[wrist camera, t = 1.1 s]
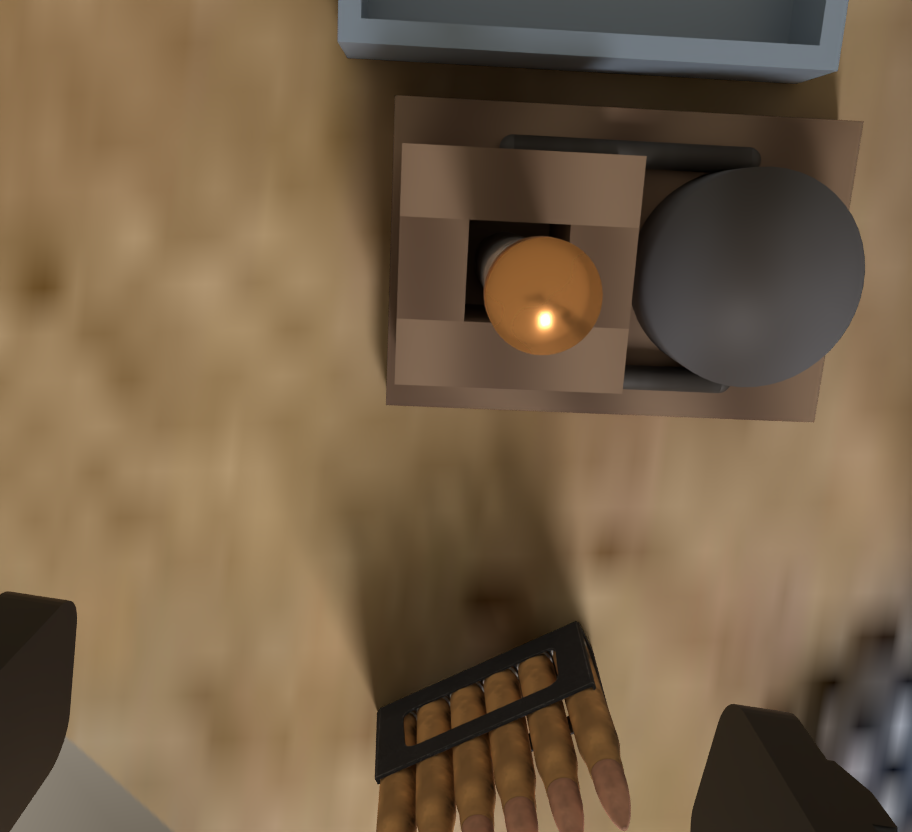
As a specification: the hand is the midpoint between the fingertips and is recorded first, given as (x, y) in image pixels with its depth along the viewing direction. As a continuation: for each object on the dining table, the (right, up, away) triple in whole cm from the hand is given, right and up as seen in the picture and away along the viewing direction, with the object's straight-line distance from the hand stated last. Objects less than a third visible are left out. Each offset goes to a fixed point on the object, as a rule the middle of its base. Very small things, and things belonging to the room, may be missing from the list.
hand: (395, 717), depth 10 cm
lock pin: (+3, +10, +23) cm, 25 cm away
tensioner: (+7, +10, +25) cm, 28 cm away
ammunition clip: (+2, -9, +30) cm, 31 cm away
